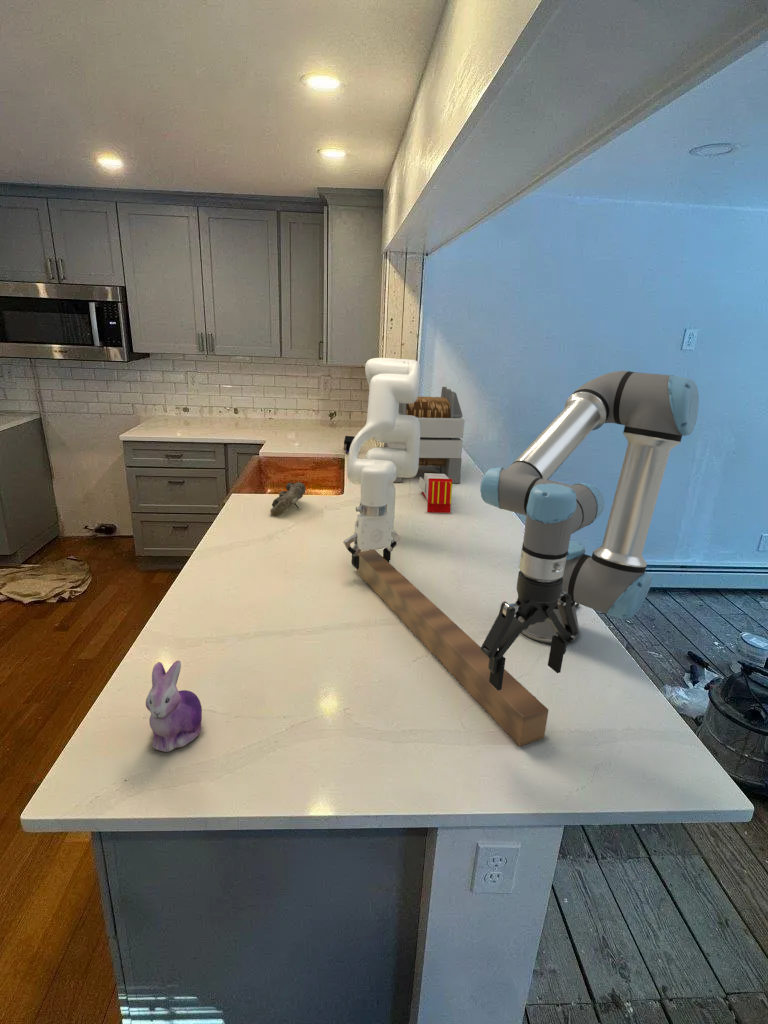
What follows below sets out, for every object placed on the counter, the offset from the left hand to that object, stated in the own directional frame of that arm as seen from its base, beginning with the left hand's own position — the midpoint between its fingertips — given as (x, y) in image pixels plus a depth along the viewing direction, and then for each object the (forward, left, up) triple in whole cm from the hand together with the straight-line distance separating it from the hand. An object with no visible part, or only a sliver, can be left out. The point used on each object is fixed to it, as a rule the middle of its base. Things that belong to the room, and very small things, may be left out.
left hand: (371, 565), depth 165 cm
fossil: (-48, +45, -4) cm, 66 cm away
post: (+23, -25, -4) cm, 34 cm away
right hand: (+46, -51, +7) cm, 69 cm away
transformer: (-13, +116, -4) cm, 117 cm away
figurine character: (-58, +141, -4) cm, 153 cm away
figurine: (-13, -74, -4) cm, 75 cm away
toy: (+3, +76, -4) cm, 76 cm away
